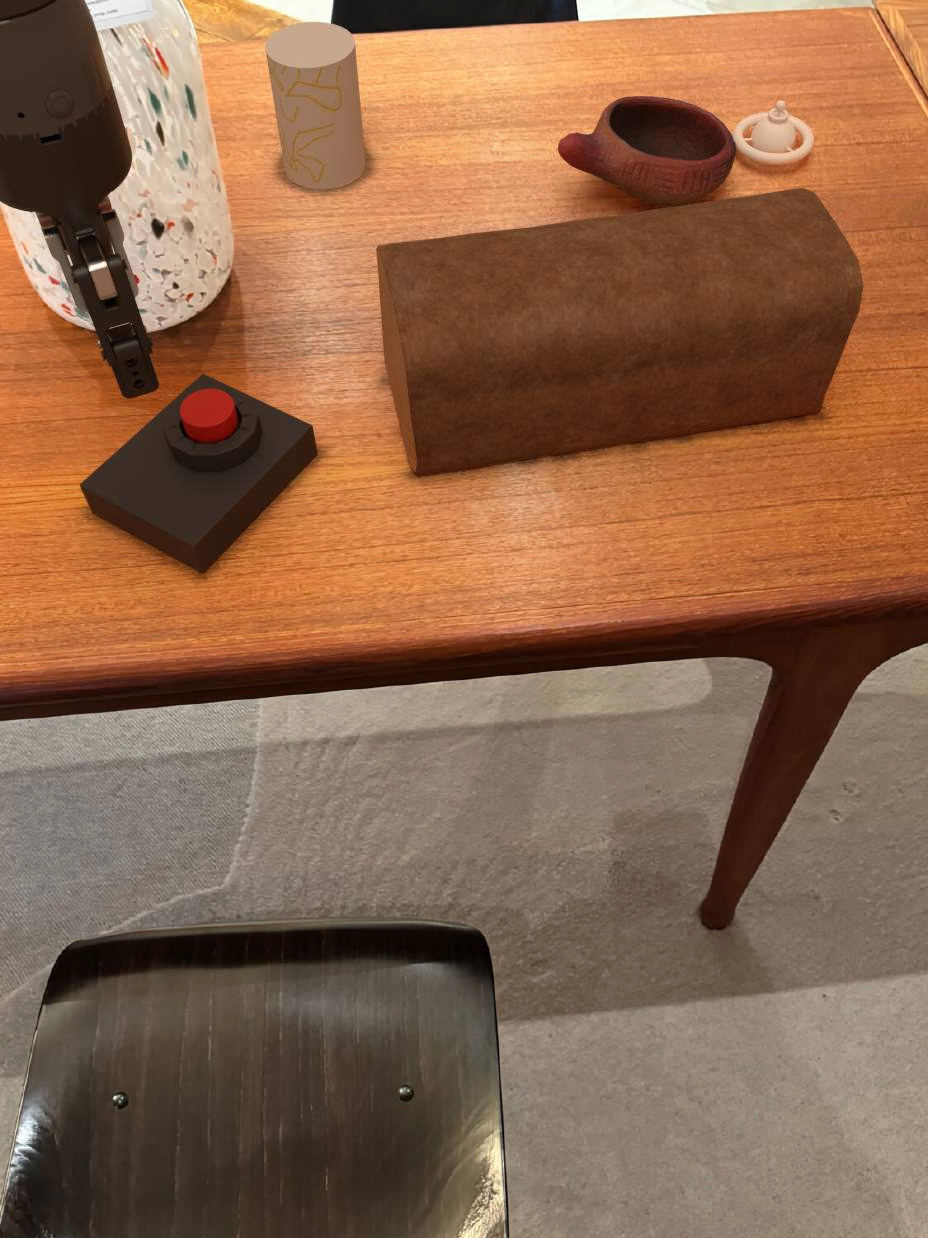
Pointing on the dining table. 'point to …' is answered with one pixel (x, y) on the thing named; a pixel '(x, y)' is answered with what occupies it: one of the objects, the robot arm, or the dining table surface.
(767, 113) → the ring around a ball
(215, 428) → the power button
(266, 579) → the dining table surface
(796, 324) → the bread
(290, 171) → the cup
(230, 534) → the red push button box
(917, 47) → the dining table surface
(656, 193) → the bowl
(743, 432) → the dining table surface
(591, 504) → the dining table surface
